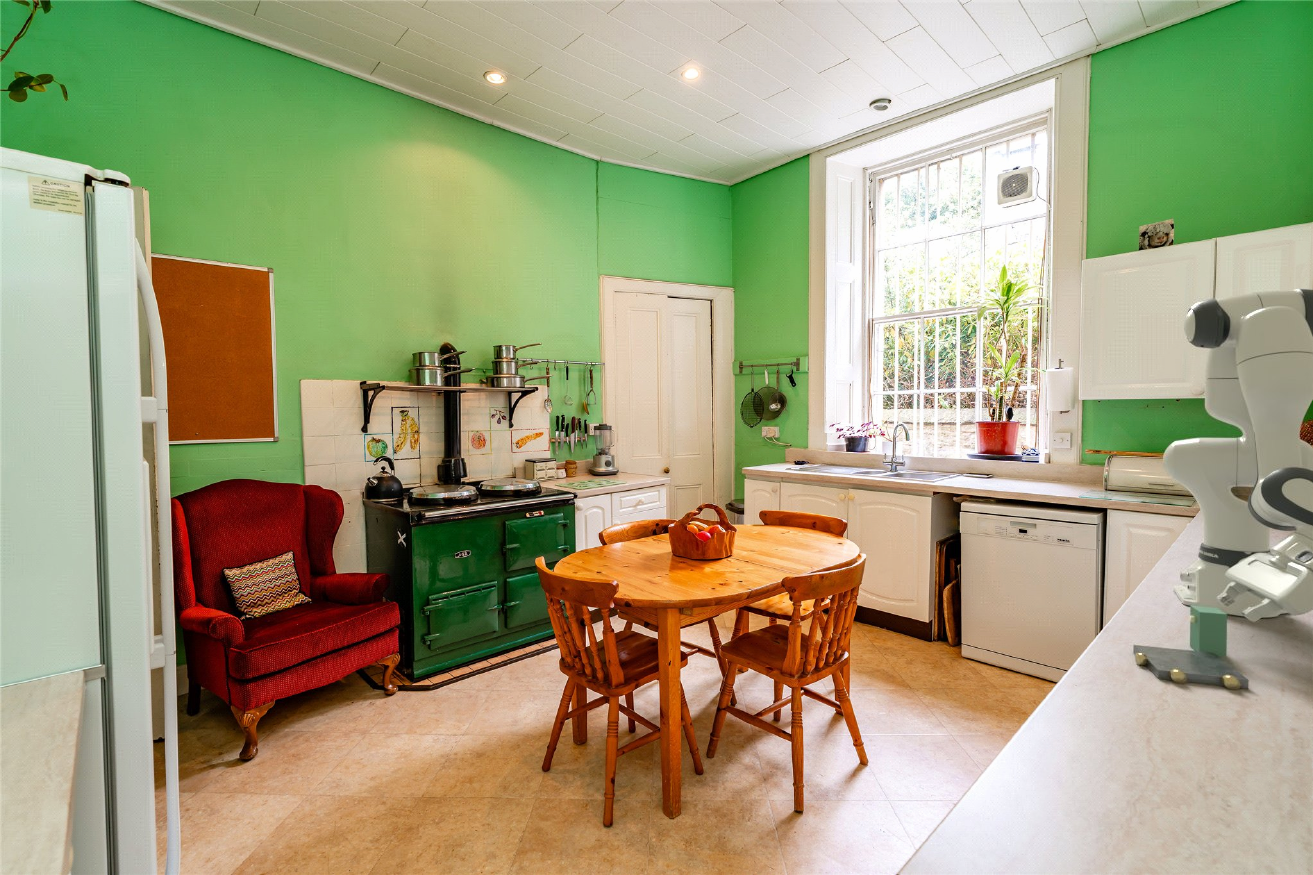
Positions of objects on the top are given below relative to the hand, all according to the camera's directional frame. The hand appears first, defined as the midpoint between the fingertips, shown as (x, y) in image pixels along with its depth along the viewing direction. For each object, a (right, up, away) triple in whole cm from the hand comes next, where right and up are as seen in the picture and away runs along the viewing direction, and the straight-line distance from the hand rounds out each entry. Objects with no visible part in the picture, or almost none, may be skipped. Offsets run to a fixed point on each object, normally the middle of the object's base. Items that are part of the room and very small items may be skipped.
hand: (1233, 609), depth 114 cm
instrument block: (-3, -8, +2) cm, 9 cm away
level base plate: (-14, -9, -6) cm, 17 cm away
